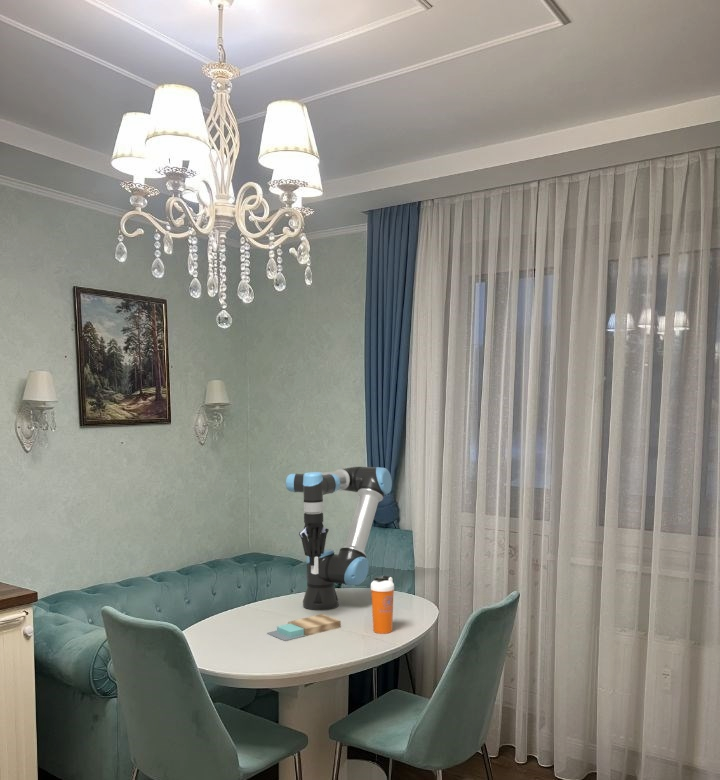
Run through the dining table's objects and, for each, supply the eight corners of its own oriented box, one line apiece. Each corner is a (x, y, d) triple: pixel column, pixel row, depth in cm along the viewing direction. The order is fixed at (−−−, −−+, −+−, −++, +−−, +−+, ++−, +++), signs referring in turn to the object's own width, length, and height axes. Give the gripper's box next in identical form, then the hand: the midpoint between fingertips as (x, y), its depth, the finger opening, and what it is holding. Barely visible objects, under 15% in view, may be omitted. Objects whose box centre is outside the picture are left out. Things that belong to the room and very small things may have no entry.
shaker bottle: (365, 631, 266) (365, 577, 267) (381, 625, 273) (381, 573, 273) (383, 636, 260) (383, 580, 261) (399, 630, 266) (399, 576, 267)
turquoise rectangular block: (290, 628, 269) (290, 623, 269) (304, 634, 262) (304, 628, 262) (276, 631, 265) (276, 626, 265) (290, 637, 258) (290, 632, 258)
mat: (286, 628, 270) (286, 628, 270) (305, 636, 261) (305, 635, 261) (266, 633, 264) (266, 632, 264) (285, 641, 255) (284, 640, 255)
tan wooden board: (321, 620, 280) (321, 614, 280) (340, 627, 271) (340, 620, 271) (288, 628, 270) (288, 621, 270) (306, 635, 261) (306, 629, 261)
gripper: (321, 509, 283) (322, 568, 282) (294, 513, 274) (295, 574, 274) (332, 511, 277) (334, 572, 277) (305, 515, 268) (306, 578, 268)
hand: (314, 573), depth 275 cm, fingers closed
